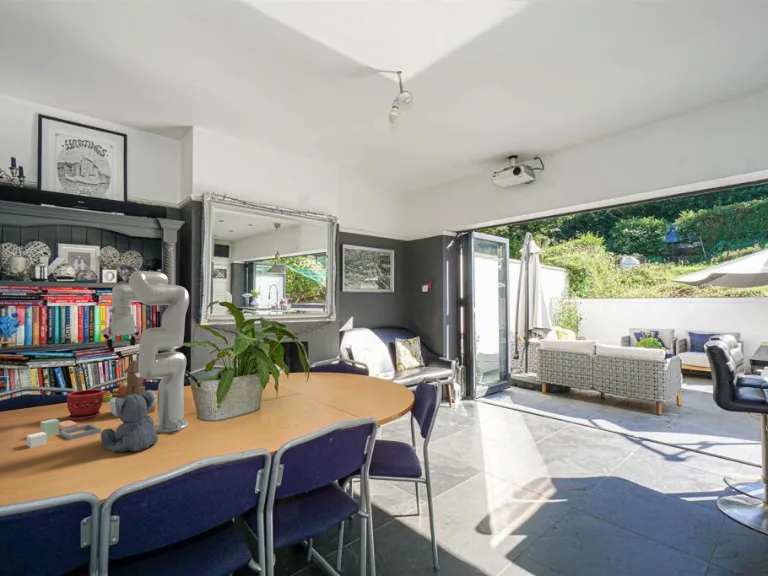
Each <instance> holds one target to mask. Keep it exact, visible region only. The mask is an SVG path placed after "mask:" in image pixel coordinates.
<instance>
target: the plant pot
mask: <svg viewBox="0 0 768 576" xmlns="http://www.w3.org/2000/svg"><path fill="white" fill-rule="evenodd" d="M104 391H105V390H103V389H85V390H82V389H81V390H77V391H76V390H74V391H72V392H71V391H70V392H69V393H67V399H66V405H67V410H68V413H69V415H68V416H67V418H68V420H71V421H73V422H78V421H87V420H91V419H95V418H97V417H99V416H100V415H101V411H100V410H101V408H102V405H103V404H104V403H103V397H104ZM97 399H98V400H97ZM84 401H85V402H86V403H83V402H84Z"/></svg>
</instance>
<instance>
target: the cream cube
mask: <svg viewBox="0 0 768 576" xmlns="http://www.w3.org/2000/svg"><path fill="white" fill-rule="evenodd" d="M40 445H41V446H45V445H48V436H47V434H46V433H44V432H36V433H32V434H28V435H26V446H27V447H29V448H30V449H31V448H32V447H33V448H36V446H37V447H40Z"/></svg>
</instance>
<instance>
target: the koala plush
mask: <svg viewBox="0 0 768 576" xmlns="http://www.w3.org/2000/svg"><path fill="white" fill-rule="evenodd" d="M157 399H158V396H157V395H156V393H155V391H153V390H151V389H146V390H145V392H143V393H142V394H141V395H137V394H132V395H128V396H126V397H125V398H124V399H122V398H121V397H116V399H111V400H110V402H108V403H109V404H108V405H109V406H110V412H111V414H112V415H113V416H115V417H119V419H120V421H121V422H122V423H120V424H119V425H118V426H117V428H116V429H115V430H114V429H113V428H105V429H102V430H101V431H100V440H101V441H100V443H101V446H102V447H103V448H104V449H106V450H110V451H111V452H114V453H117V452H119V453H125V452H127V451H129V452H130V451H131V452H141V451H143V450H146V449H148V448H149V447H150V446H153V445H155V444H156V443H157V442H158V441H159V435H158V434H157V433H158V432H156V431H155V429H154V426H155V420H154V418H153V417H152V416H151V415H148V414H147V410H150V409H151V408H152V407H153V406H154V404H155V405H156V404H157Z"/></svg>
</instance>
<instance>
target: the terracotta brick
mask: <svg viewBox="0 0 768 576" xmlns="http://www.w3.org/2000/svg"><path fill="white" fill-rule="evenodd" d="M76 427H79V424H78V423H77V422H76V421H72V420H69V419H68V420H64V421H59V431H63V430H68V429H72V428H76Z"/></svg>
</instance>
